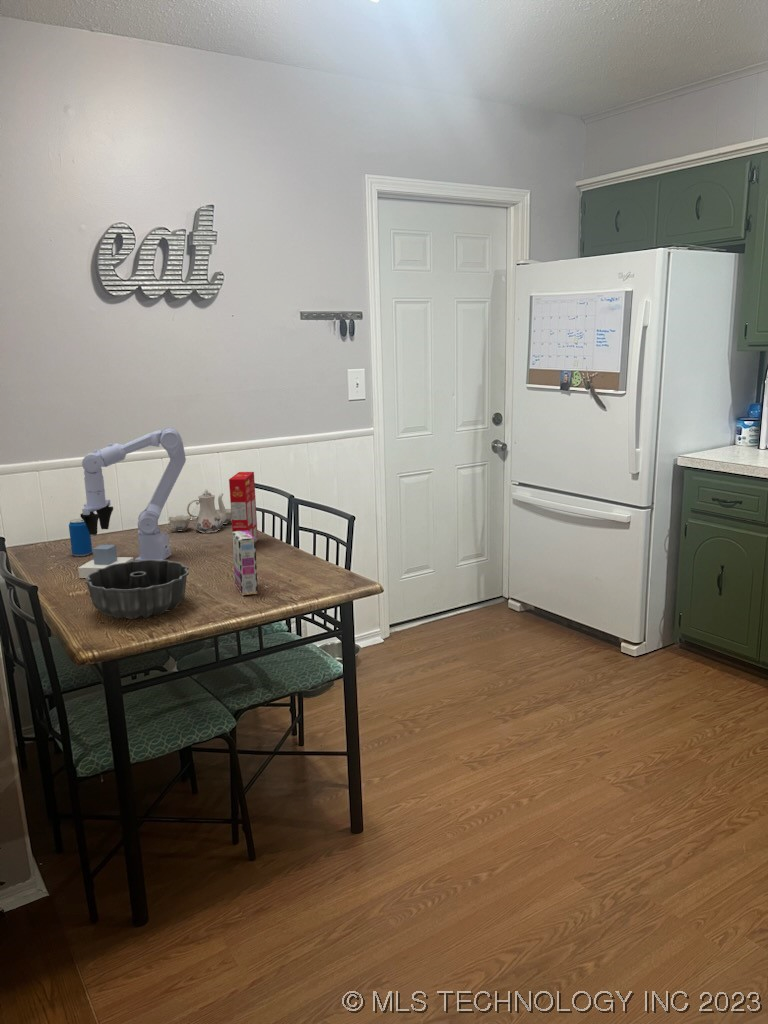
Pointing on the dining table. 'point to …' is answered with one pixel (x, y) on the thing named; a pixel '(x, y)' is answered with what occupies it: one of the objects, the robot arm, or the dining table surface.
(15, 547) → the dining table surface
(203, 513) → the chinaware
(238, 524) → the food packaging
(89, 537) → the beverage can
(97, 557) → the blue cube
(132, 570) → the bundt pan
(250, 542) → the candy bar box
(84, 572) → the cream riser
